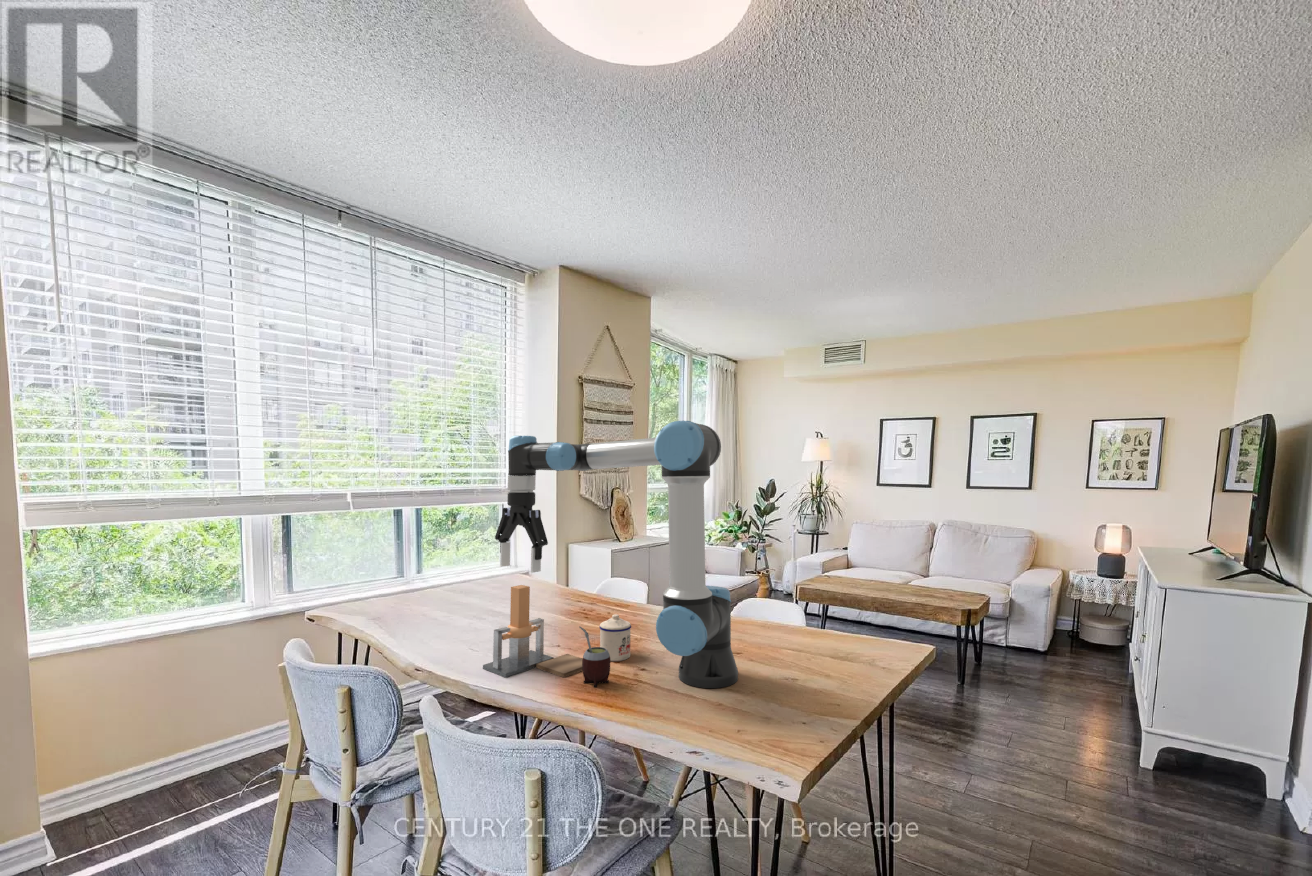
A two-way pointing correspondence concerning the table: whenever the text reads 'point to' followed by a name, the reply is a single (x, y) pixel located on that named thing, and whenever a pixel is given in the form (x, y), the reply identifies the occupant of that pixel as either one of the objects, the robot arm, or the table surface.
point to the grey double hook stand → (517, 652)
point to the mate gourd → (595, 664)
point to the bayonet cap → (519, 614)
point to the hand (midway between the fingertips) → (519, 568)
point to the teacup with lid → (616, 638)
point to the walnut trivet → (562, 665)
